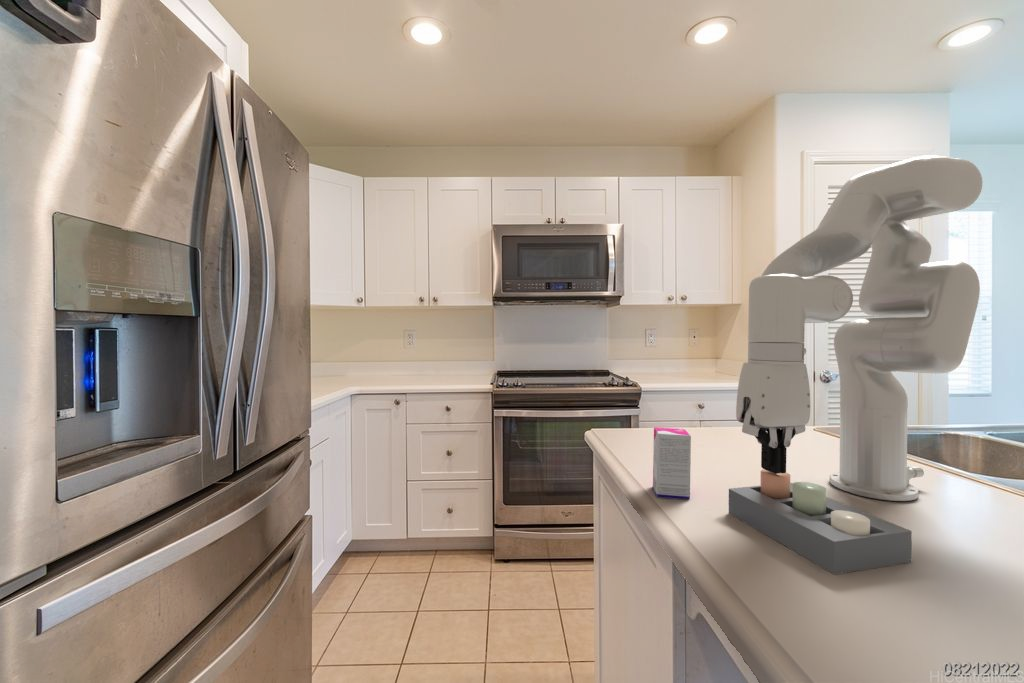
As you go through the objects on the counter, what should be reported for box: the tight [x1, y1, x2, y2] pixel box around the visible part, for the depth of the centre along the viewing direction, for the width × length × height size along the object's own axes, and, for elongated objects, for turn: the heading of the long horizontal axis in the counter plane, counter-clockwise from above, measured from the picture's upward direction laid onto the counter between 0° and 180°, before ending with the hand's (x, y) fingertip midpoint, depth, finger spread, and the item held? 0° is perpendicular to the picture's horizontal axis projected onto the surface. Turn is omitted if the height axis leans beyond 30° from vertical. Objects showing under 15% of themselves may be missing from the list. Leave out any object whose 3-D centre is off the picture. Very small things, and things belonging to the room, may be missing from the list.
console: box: [728, 482, 913, 575], centre depth 62 cm, size 12×18×4 cm, turn 12°
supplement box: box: [652, 427, 692, 500], centre depth 78 cm, size 6×6×12 cm
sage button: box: [792, 481, 827, 516], centre depth 62 cm, size 4×4×4 cm
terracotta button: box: [760, 469, 791, 500], centre depth 67 cm, size 4×4×4 cm
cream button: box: [831, 510, 870, 536], centre depth 56 cm, size 4×4×4 cm
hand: (773, 470), depth 67 cm, fingers closed
